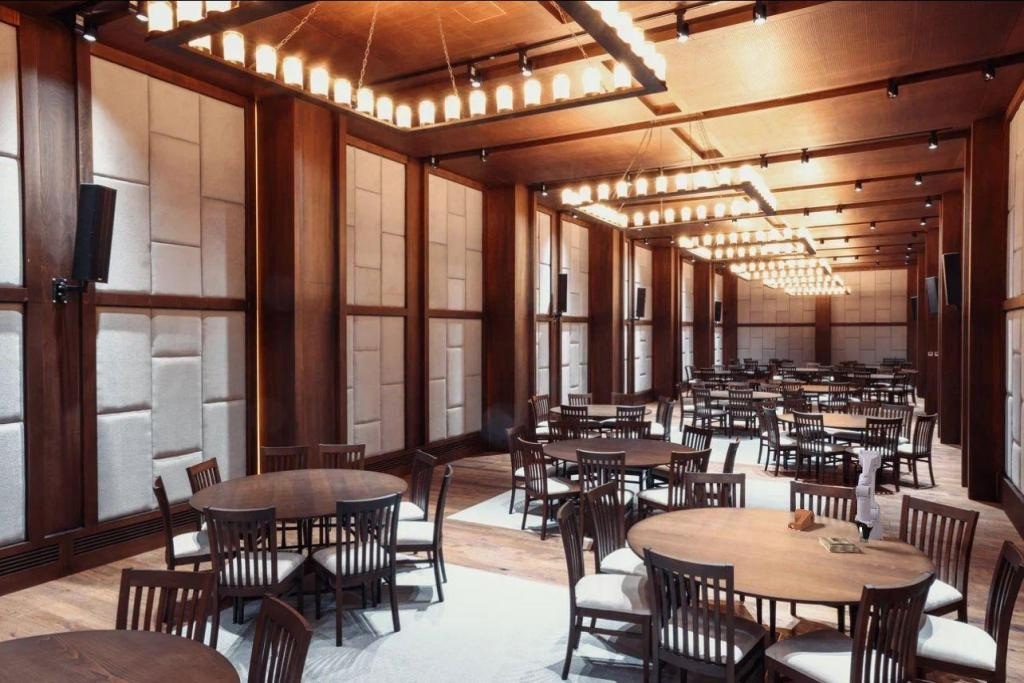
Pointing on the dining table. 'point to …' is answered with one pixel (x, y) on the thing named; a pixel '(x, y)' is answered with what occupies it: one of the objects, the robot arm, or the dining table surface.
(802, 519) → the brown blocky piece
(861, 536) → the bushing
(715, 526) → the dining table surface
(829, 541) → the jig
